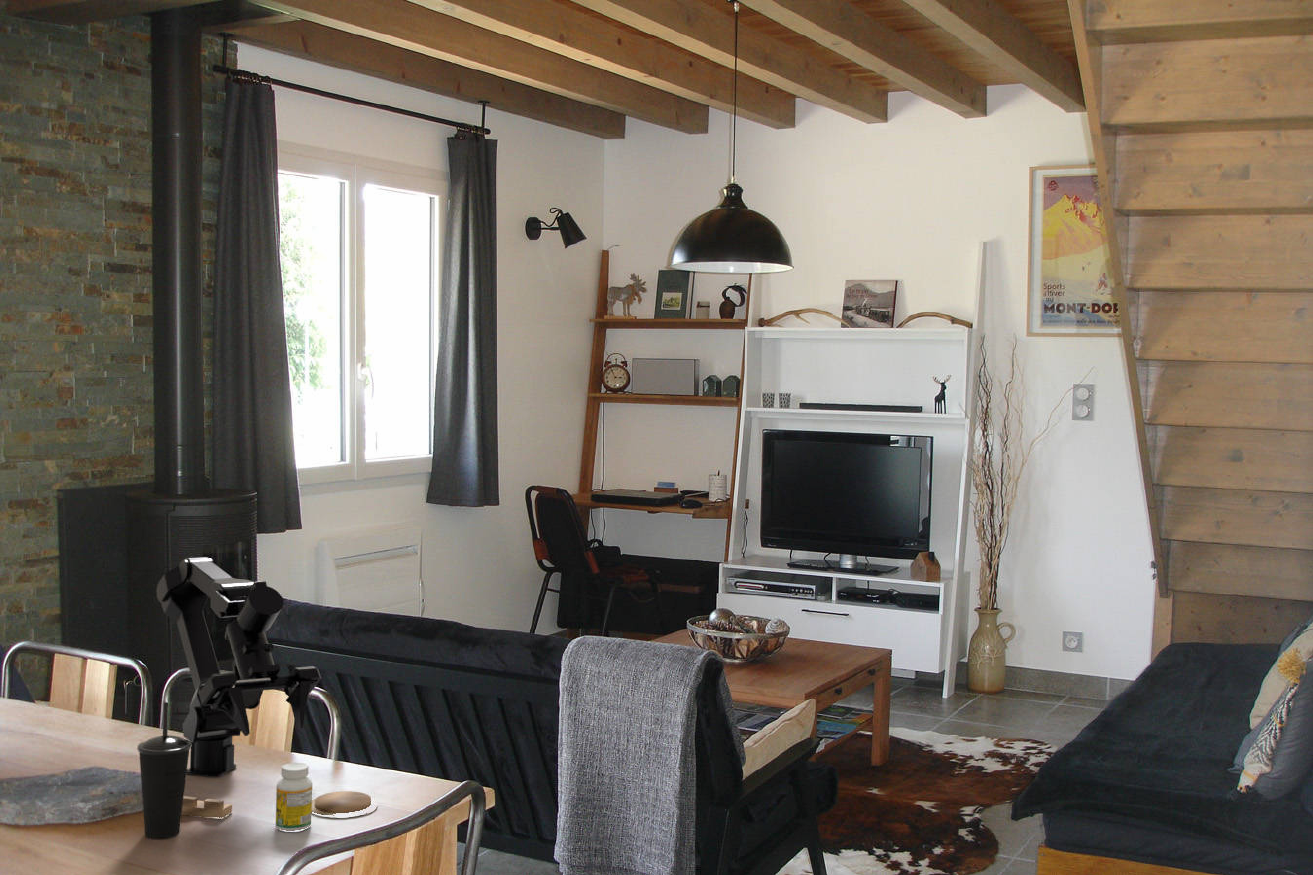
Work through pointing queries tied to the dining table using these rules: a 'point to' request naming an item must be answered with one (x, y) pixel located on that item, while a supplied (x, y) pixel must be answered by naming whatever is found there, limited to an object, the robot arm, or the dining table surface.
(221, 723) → the robot arm
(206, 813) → the notched board
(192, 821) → the dining table surface
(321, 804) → the base
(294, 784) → the supplement bottle
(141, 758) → the drinking cup
